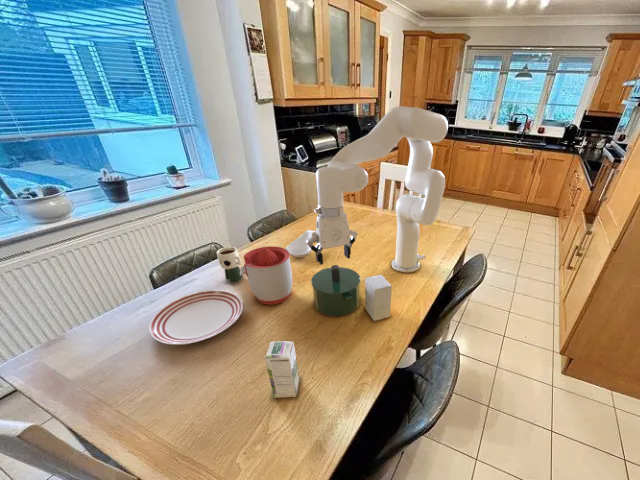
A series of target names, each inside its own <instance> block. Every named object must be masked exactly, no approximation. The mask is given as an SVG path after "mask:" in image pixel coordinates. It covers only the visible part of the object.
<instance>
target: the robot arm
mask: <svg viewBox="0 0 640 480" xmlns="http://www.w3.org/2000/svg"><path fill="white" fill-rule="evenodd" d="M448 123H449V122H448V120H447V118H446V117H445V116H444V115H443V114H440V113H437V112H434V111H430V110H427V109H423V108H419V107H414V106H412V107H411V106H402V105H401V106H400V105H399V106H394V107H392V108H391V109H389V110H388V111H387V112H386V113H385V114H384V115H383V117H382V118H381V119H380V120H379V121H378V122H377V123H376V124H375V126H374V127H373V128H372V129H371V130H370V132H368V133H367V134H366V135H364V136H362V137H360V138H358V139H356V140H354V141H352V142H350V143H349V144H346V145H345V146H343V147H342V148H341V149H339V151H338V152H337V153H336V154H335V155H334V156H333V157H332V159H331V160H330V161H329V162H328V164H327V166H322V167H319V168H318V169H317V170H316V172H315V178H316V192H317V203H318V204H317V208H314V209H313V211H314V213H315V214H317V215H316V221H315V231H316V235H314V236H313V237H311V238H310V239H309V240H307V241H306V243H307V244H308V246H309V247H310V248H311V249H312V250H311V251H313V252H314V253H315V259H316V262H317V263H318V264H319V265H320V266H322V265H324V258H323V257H324V256H323V253H322V252H323V250H327V249H333V248H338V247H342V246H343V254H344V257H345V258H347V259H348V260H349V259H351V255H352V252H351V250H352V249H351V248H353V245H354V243H355V242H356V240H357V237H358V234H359V233H358V232H357V231H355V230H352V229H350V225H349V220H348V216H347V213H346V212H345V211H344V208H345V207H344V194H345V193H357V192H360V191H361V192H362V190H364V189H365V188H366V187H367V185H368V183H369V174H368V172H367V170H366V169H364V168H363V167H362V166H360V164H362V163H365V162H369V161H375V160H380V159H383V158H385V157H387V156H388V155H389V154H390V153H391V151H392V150H393V149H394V148H395V146H397V145H398V143H399V142H400V141H401V140H402V139H403V138H406V139H407V142H408V145H409V158H408V164H407V168H406V173H405V178H404V186H405V188H406V189H407V190H408V191H409V192H413V193H415V194H420V195H423V196H424V197H420V196H418V195H415V194H414V195H413V194H410V193H409V194H402V195H400V196H399V198H397V200H396V203H395V214H396V242H395V257H394V259H392V260H391V267H392V269H393V270H395V271H398V272H400V273H413V272H416V271H418V270H419V269H420V266H421V264H420V261H422V260H425V259H426V255H425V254H421V255H420V253H418V251H419V241H420V233H421V232H420V231H421V229H420V225H422V226H427V227H428V226H431V225H433V224H434V223H435V222H436V220H437V219H438V216H439V212H440V208H441V203H442V200H443V196H444V192H445V189H446V177H445V175H444V174H443V172H442V171H440V170H438V169H432V168H431V166H432V160H433V156H434V152H433V146H432V143H436V144H437V143H440V142H441V141H442V140H443V141H444V139H445V137H446V136H447V134H448V130H449V129H448V128H449V124H448ZM315 242H316V245H314V243H315Z"/></svg>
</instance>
